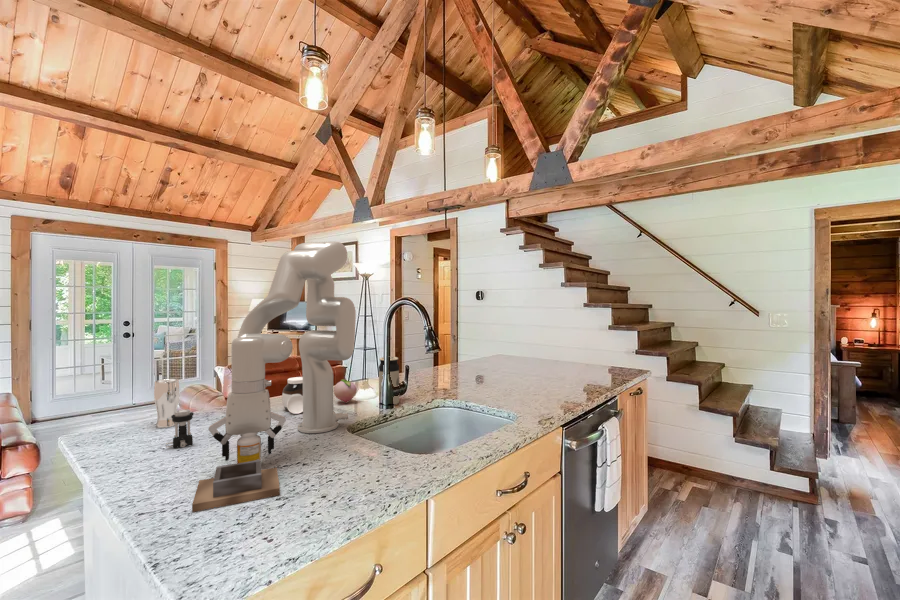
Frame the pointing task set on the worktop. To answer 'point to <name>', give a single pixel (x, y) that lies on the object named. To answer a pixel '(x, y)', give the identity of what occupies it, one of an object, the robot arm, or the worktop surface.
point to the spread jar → (293, 395)
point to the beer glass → (166, 401)
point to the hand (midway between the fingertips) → (248, 455)
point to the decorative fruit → (345, 390)
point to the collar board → (236, 485)
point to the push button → (182, 429)
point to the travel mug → (393, 372)
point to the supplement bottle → (248, 447)
